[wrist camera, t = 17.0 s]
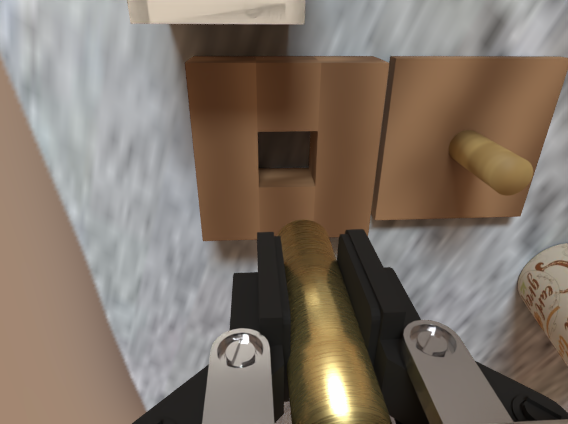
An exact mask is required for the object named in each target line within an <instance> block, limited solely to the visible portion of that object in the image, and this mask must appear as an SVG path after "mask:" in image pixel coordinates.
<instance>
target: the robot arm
mask: <svg viewBox="0 0 568 424" xmlns="http://www.w3.org/2000/svg"><path fill="white" fill-rule="evenodd" d="M257 251H258V272H254V273H234V275H233V288H232V303H231V318H230V331H228V332H225V333H223V334H222V335H221V336H219V337H218V338H217V339H216V340H215V342H214V343H213V345H212V348H211V351H210V360H209V365H207V366H206V367H205V368H203V369H202V370H201V371H200V372H198V373H197V374H196V375H194V376H193V377H192V378H190V379H189V380H188V381H187V382H185V383H184V384H183V385H181V386H180V387H179V388H177V389H176V390H175V391H174V392H172V393H171V394H170V395H168V396H167V397H166V398H165V399H163V400H162V401H161V402H159V403H158V404H157V405H155V406H154V407H153V408H152V409H150V410H149V411H148V412H146V413H145V414H144V415H142V416H141V417H140V418H139V419H137V420H136V421H135V422H134V423H132V424H274V423H275V422H276V421H277V420H278V419H279V418H280V417H281V416H282V415H283V414H284V402H288V401H289V388H288V377H287V362H288V359H289V357H290V348H291V314H290V305H289V297H288V290H287V282H286V274H285V267H284V259H283V251H282V244H281V236H274V232H257ZM337 263H338V266H339V269H340V272H341V275H342V278H343V281H344V284H345V286H346V289H347V292H348V295H349V298H350V301H351V304H352V307H353V310H354V313H355V316H356V319H357V322H358V325H359V328H360V331H361V334H362V337H363V339H364V342H365V345H366V348H367V351H368V354H369V357H370V360H371V363H372V366H373V369H374V372H375V375H376V378H377V380H378V383H379V386H380V389H381V392H382V395H383V398H384V401H385V404H386V407H387V410H388V413H389V416H390V419H391V422H392V424H568V413H567V412H566V411H565V410H564V409H563V408H562V407H561V406H560V405H558V404H557V403H556V402H554V401H553V400H551V399H549V398H548V397H546V396H544V395H542V394H540V393H538V392H536V391H534V390H532V389H530V388H528V387H526V386H524V385H522V384H520V383H518V382H516V381H514V380H512V379H510V378H508V377H506V376H504V375H502V374H500V373H498V372H496V371H494V370H492V369H490V368H488V367H486V366H484V365H482V364H480V363H478V362H476V361H475V360H474V359H473V357H472V356H471V354H470V353H469V351H468V349H467V348H466V346H465V345H464V343H463V341H462V340H461V338H460V337H459V336H458V335H457V334H456V332H454V331H453V330H452V329H450V328H449V327H448V326H445V325H443V324H441V323H439V322H435V321H431V320H421V319H420V317H419V315H418V313H417V311H416V310H415V308H414V306H413V304H412V302H411V301H410V299H409V297H408V295H407V293H406V291H405V290H404V288H403V286H402V284H401V282H400V280H399V279H398V277H397V275H396V273H395V271H394V270H393V269H392V268H390V267H388V268H383V266H382V264H381V262H380V260H379V258H378V256H377V254H376V252H375V250H374V248H373V246H372V244H371V242H370V240H369V238H368V236H367V234H366V232H365V231H364V229H350V230H346V231H345V234H340V236H339V244H338V256H337Z"/></svg>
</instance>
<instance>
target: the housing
mask: <svg viewBox="0 0 568 424" xmlns="http://www.w3.org/2000/svg"><path fill="white" fill-rule="evenodd" d="M127 3H128V9H129V15H130V22H131V24H305V0H127Z"/></svg>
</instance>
